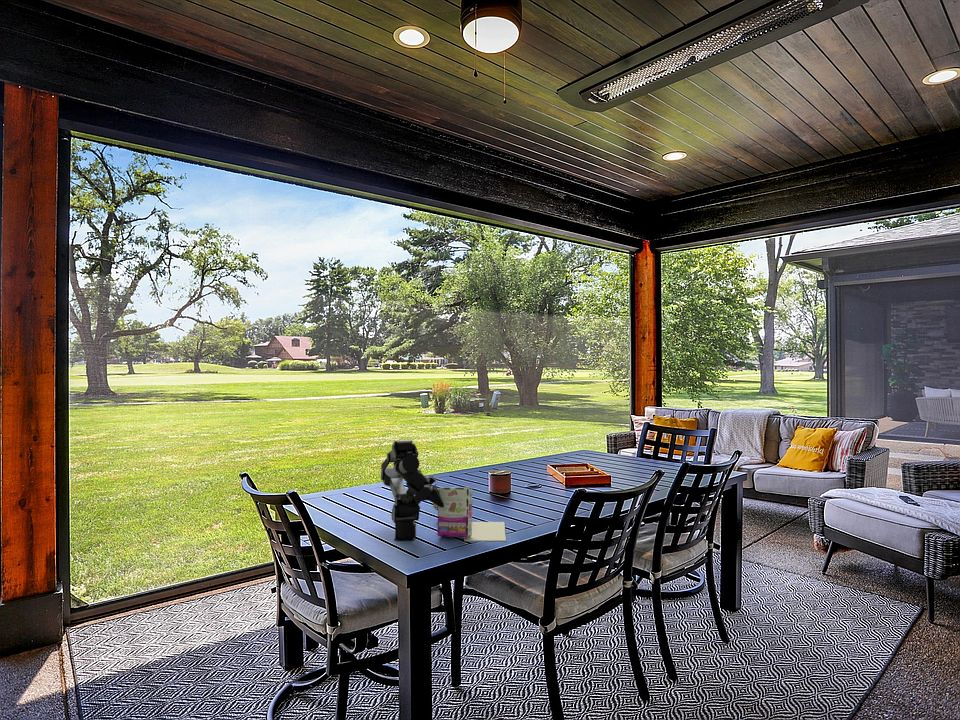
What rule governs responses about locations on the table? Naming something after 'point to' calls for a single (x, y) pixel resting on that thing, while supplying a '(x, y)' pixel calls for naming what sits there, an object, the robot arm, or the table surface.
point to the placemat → (487, 531)
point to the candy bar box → (455, 512)
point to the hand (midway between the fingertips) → (443, 506)
